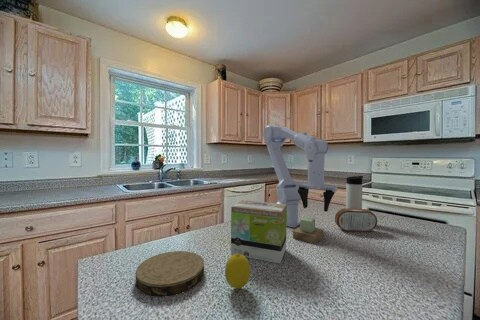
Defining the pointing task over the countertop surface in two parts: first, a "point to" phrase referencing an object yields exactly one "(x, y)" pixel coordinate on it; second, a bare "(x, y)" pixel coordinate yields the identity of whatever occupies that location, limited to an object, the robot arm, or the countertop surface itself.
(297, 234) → the walnut block
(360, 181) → the travel mug
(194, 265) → the wooden coaster disc
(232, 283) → the lemon
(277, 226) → the tea box
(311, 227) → the sage cube
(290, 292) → the countertop surface
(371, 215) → the tin
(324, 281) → the countertop surface
